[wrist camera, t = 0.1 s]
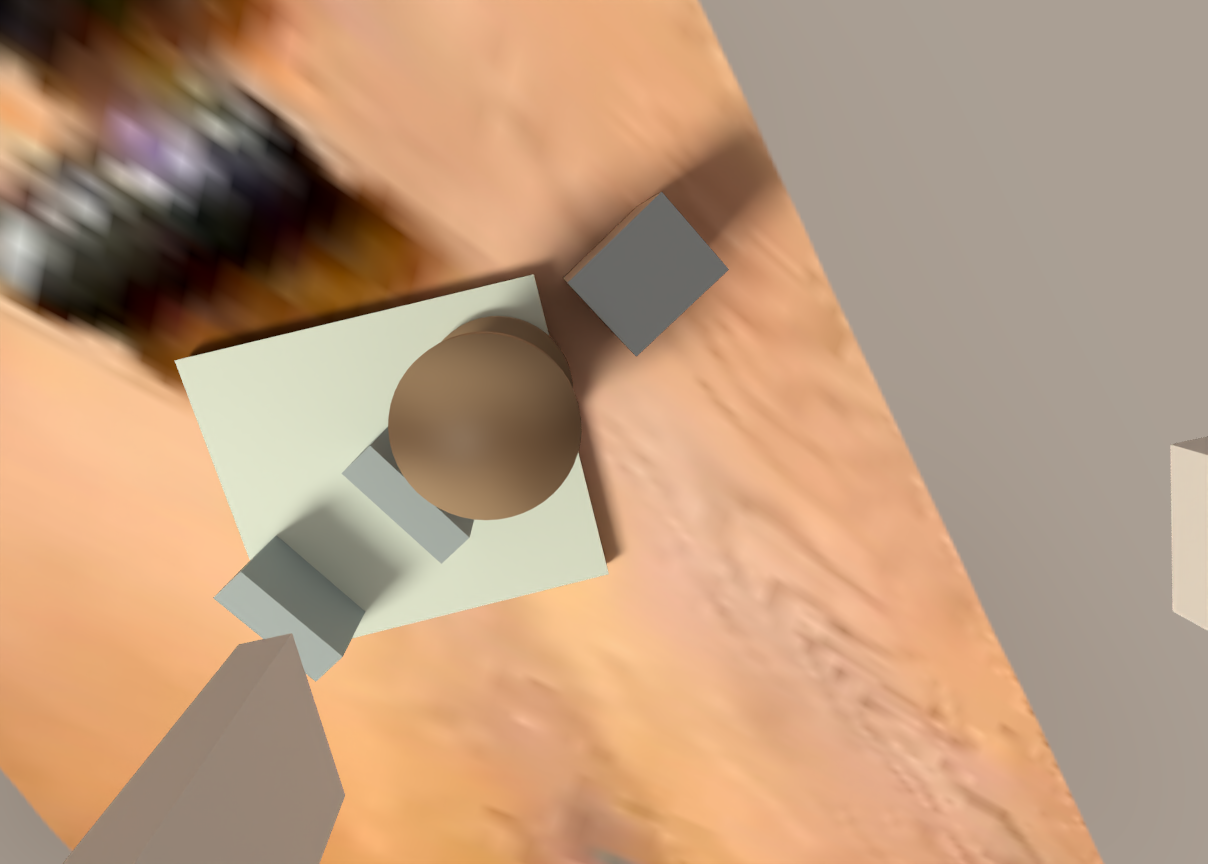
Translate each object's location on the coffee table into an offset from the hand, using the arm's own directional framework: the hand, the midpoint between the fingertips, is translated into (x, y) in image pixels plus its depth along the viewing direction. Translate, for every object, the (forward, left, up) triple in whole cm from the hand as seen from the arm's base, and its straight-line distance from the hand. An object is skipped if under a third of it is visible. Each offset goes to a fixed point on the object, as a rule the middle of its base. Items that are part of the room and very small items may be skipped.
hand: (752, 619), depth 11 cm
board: (+3, -11, -28) cm, 30 cm away
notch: (+5, -14, -28) cm, 31 cm away
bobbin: (0, -5, -28) cm, 28 cm away
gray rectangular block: (-4, +2, -28) cm, 28 cm away
